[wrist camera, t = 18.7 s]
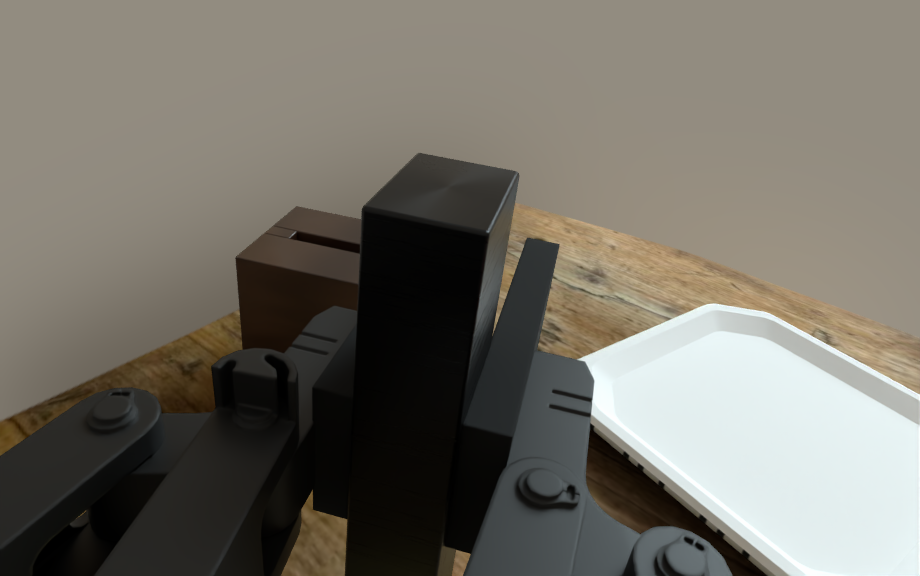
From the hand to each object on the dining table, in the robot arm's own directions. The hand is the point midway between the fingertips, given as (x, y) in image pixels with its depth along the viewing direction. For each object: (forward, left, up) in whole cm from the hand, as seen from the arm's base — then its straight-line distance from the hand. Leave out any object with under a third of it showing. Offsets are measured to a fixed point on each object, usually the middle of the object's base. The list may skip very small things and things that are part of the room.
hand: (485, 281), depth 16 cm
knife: (0, -6, -15) cm, 16 cm away
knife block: (-11, +16, -18) cm, 26 cm away
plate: (+16, +19, -18) cm, 31 cm away
